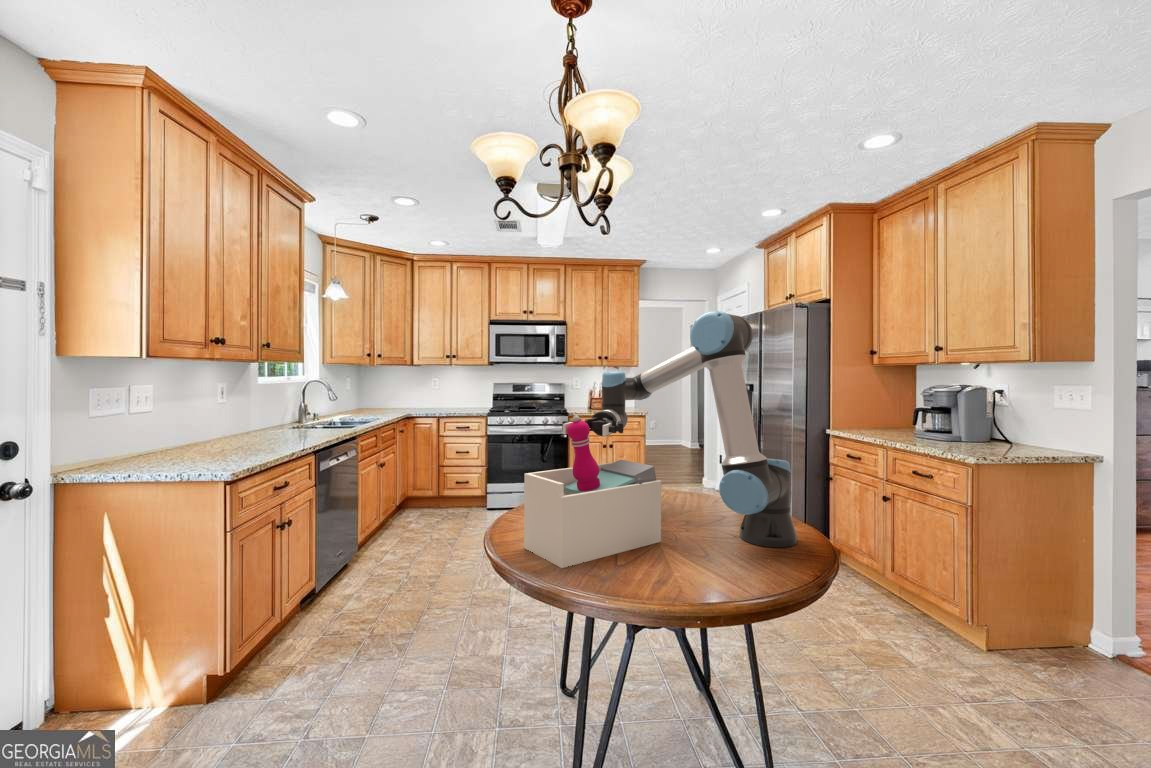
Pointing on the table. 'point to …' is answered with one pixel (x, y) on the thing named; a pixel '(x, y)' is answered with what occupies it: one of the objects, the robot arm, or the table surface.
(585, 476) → the pepper mill
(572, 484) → the trapdoor
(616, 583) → the table surface
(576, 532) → the frame
